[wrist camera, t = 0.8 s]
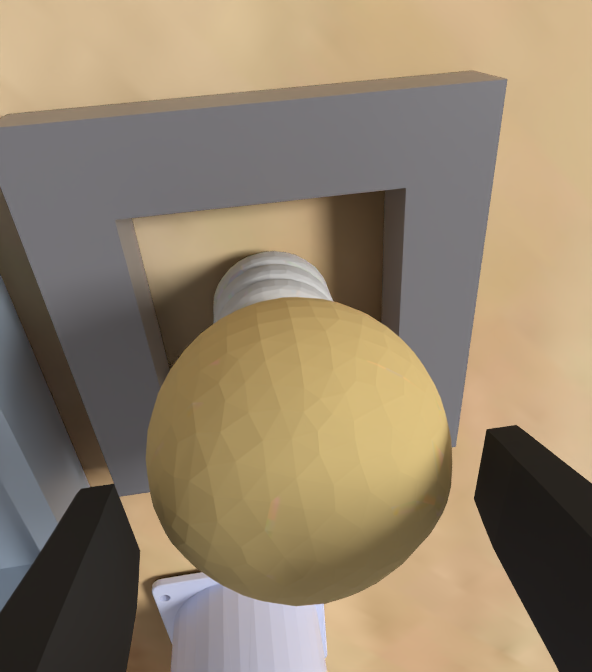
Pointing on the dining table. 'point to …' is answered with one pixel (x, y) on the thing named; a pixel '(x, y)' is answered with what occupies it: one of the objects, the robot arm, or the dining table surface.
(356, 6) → the dining table surface
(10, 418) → the parts tray
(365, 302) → the dining table surface
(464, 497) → the dining table surface
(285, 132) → the socket block
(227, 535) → the light bulb
